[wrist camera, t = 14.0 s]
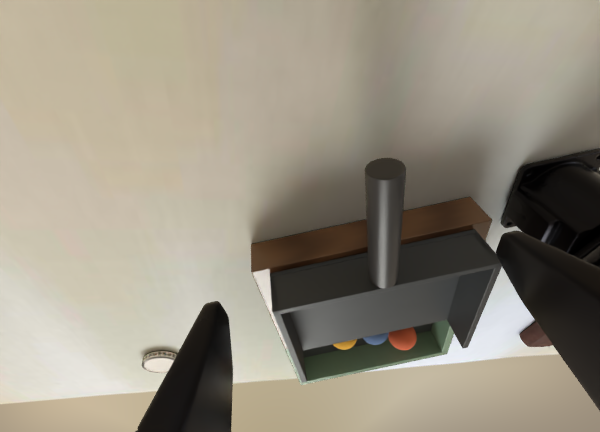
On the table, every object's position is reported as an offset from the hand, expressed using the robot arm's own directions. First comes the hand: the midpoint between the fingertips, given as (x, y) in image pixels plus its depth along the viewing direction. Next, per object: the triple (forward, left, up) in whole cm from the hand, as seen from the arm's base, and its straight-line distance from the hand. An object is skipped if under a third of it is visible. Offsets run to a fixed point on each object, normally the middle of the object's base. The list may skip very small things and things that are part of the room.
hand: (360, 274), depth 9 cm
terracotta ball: (-7, +28, -11) cm, 31 cm away
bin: (-3, +27, -12) cm, 30 cm away
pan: (-3, +12, -9) cm, 15 cm away
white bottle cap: (+21, +25, -12) cm, 34 cm away
